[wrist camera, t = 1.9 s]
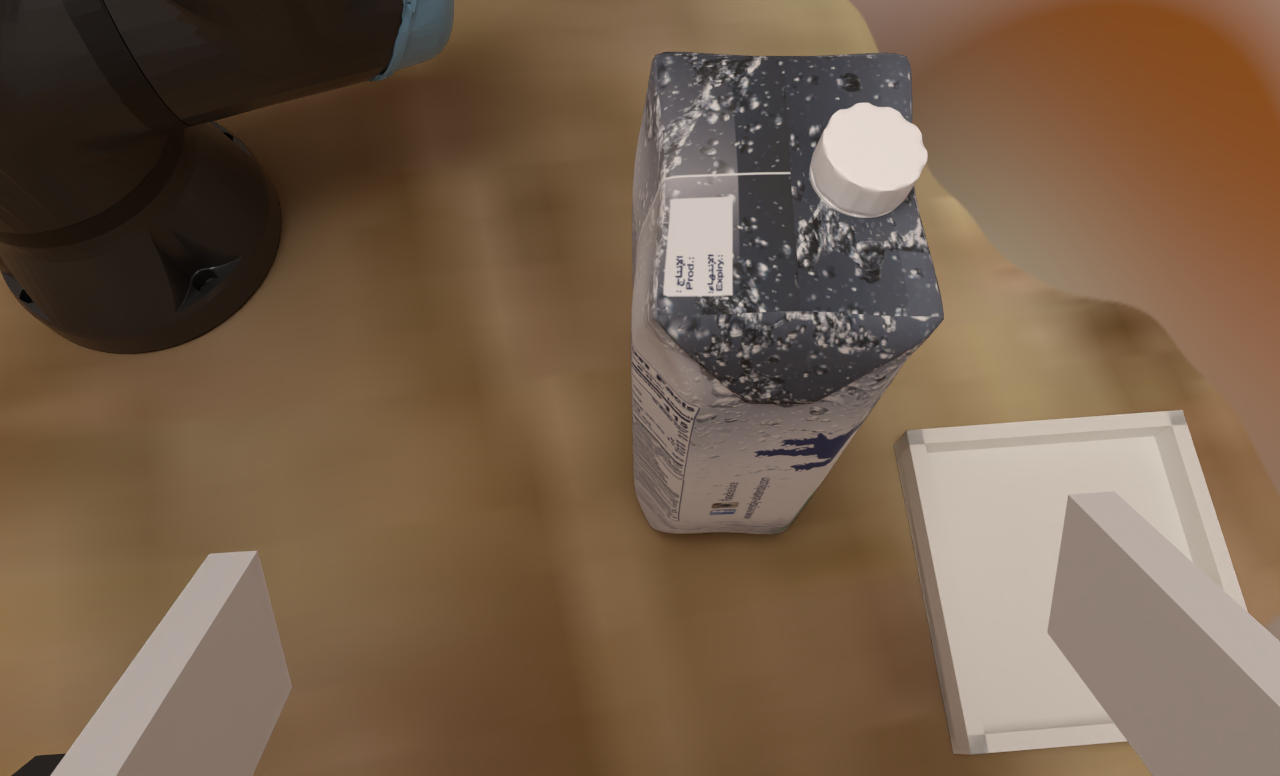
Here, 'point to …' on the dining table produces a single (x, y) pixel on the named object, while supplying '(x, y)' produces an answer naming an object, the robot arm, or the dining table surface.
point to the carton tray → (1035, 558)
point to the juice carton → (769, 277)
